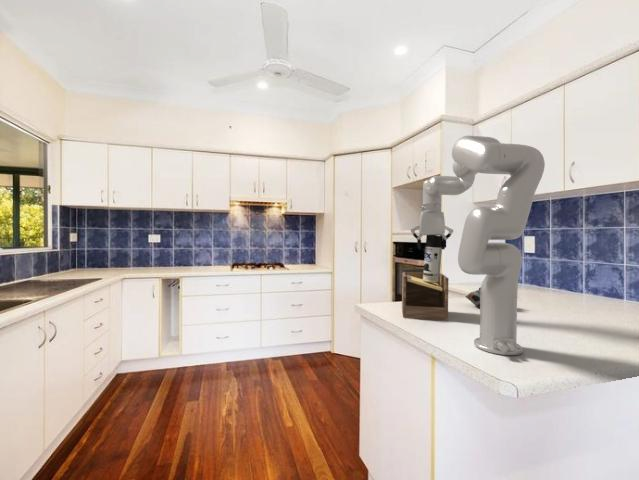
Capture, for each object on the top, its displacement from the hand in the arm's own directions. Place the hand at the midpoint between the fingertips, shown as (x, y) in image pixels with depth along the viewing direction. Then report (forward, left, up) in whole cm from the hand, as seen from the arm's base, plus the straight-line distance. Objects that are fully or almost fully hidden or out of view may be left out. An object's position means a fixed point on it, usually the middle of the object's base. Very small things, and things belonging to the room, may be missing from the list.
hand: (431, 249), depth 128 cm
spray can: (0, 0, -14) cm, 14 cm away
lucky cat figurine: (+23, -28, -28) cm, 46 cm away
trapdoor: (0, +3, -14) cm, 15 cm away
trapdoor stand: (0, +3, -28) cm, 28 cm away
